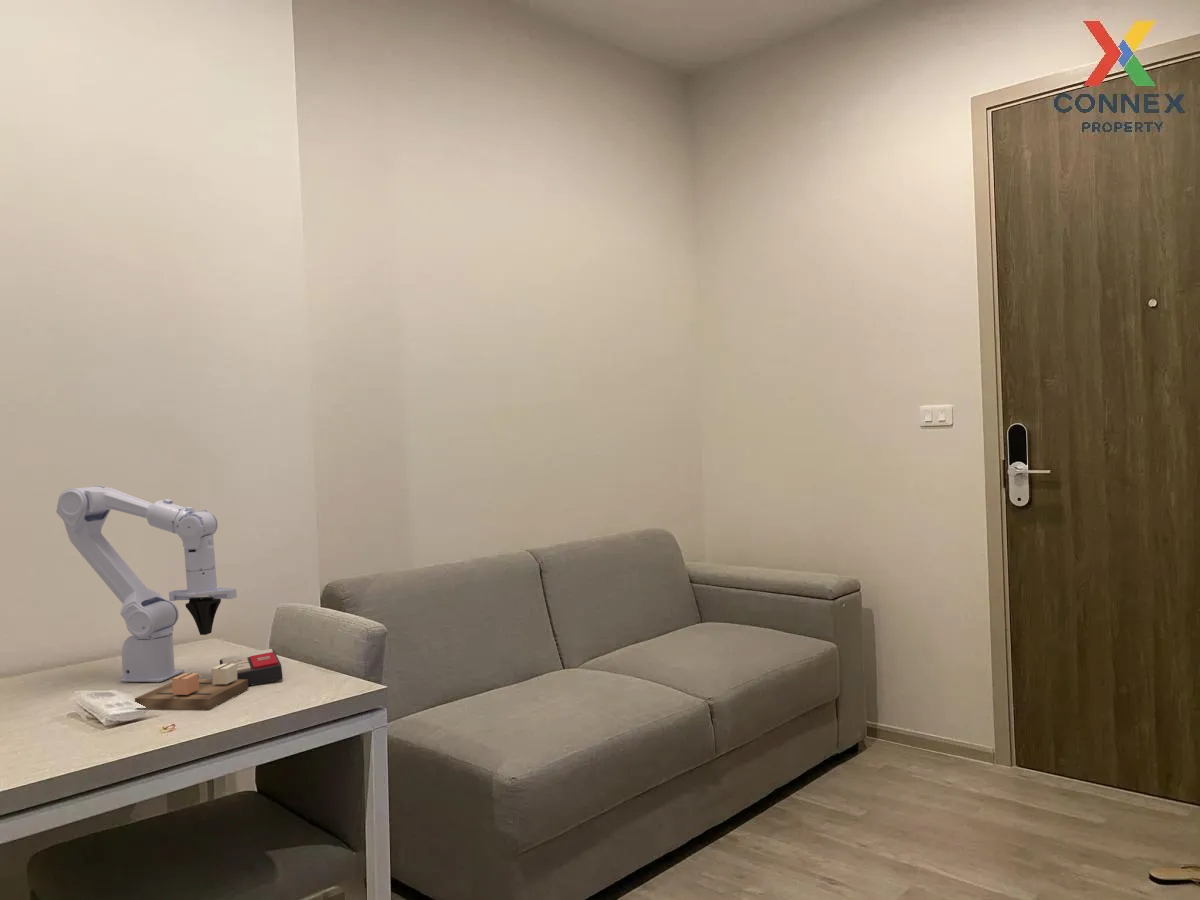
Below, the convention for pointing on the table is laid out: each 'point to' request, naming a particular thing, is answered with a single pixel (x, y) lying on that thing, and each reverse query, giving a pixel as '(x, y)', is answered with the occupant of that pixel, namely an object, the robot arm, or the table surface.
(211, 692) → the mixer panel
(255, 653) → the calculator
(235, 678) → the ivory fader
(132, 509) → the robot arm
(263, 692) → the table surface
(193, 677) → the terracotta fader
